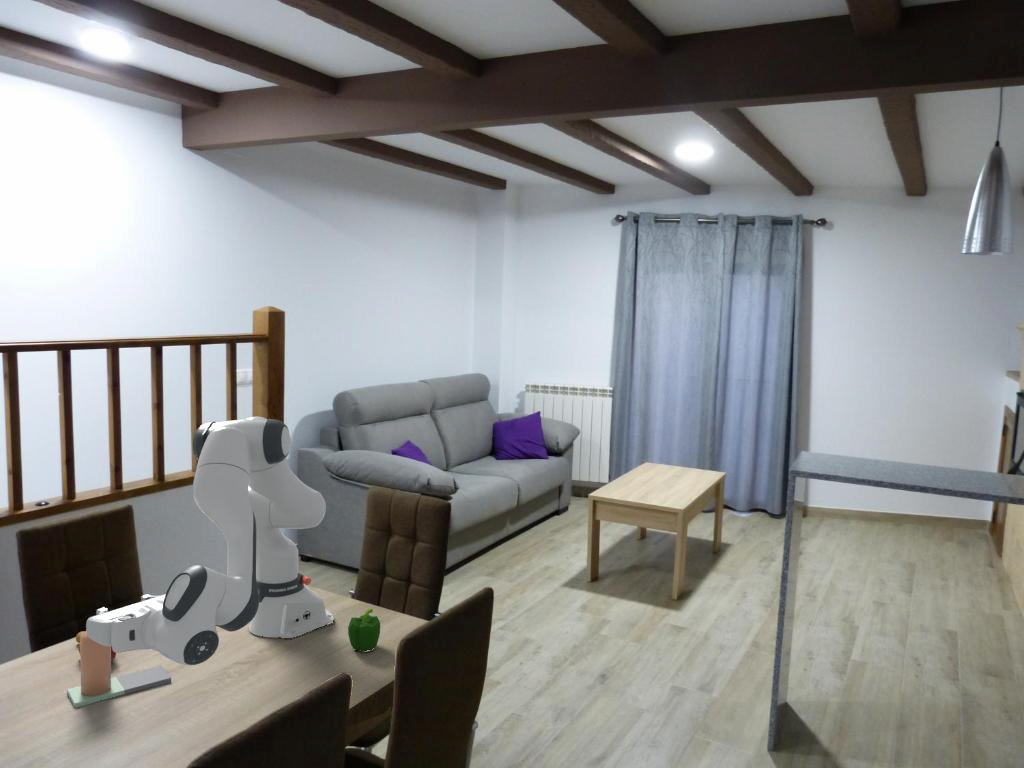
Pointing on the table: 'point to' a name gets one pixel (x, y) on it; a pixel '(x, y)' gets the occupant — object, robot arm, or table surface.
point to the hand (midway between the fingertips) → (122, 605)
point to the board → (123, 685)
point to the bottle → (94, 667)
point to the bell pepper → (364, 632)
